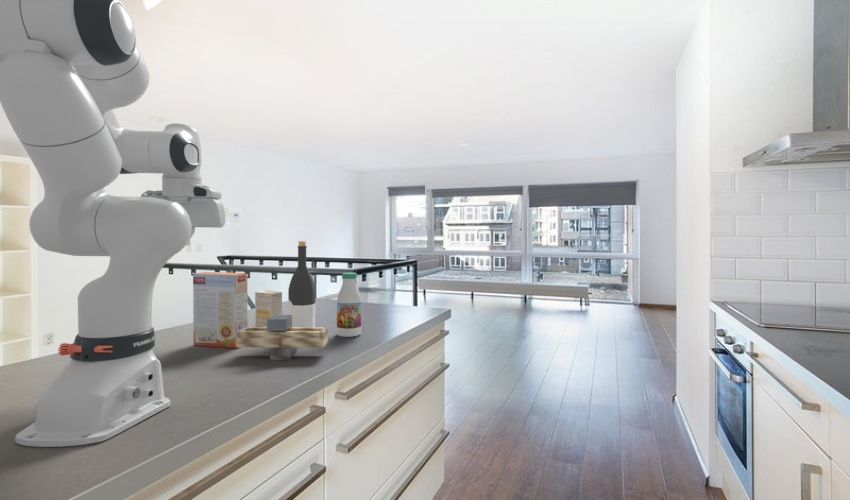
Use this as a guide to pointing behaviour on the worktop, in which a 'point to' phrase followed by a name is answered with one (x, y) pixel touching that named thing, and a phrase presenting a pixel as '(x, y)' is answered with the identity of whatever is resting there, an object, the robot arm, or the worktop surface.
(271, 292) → the supplement box
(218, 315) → the cracker box
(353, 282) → the milk bottle
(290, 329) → the beam
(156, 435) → the worktop surface
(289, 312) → the wine bottle
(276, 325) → the block
